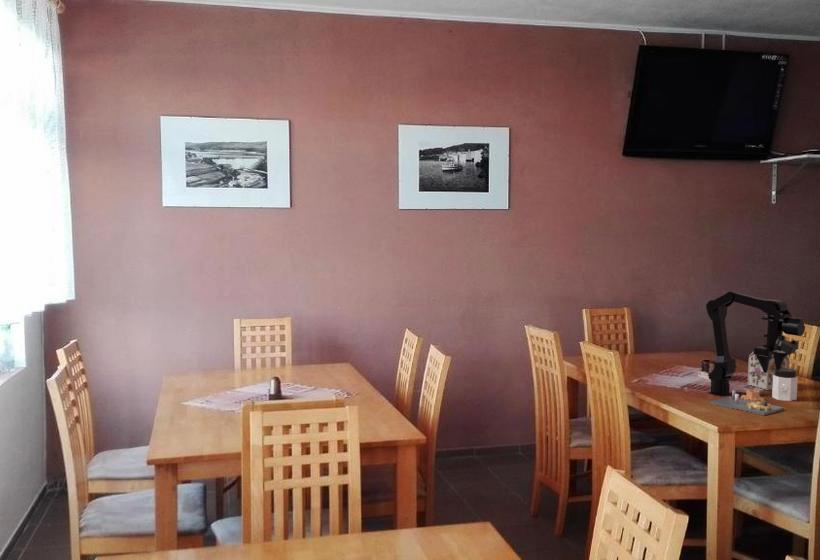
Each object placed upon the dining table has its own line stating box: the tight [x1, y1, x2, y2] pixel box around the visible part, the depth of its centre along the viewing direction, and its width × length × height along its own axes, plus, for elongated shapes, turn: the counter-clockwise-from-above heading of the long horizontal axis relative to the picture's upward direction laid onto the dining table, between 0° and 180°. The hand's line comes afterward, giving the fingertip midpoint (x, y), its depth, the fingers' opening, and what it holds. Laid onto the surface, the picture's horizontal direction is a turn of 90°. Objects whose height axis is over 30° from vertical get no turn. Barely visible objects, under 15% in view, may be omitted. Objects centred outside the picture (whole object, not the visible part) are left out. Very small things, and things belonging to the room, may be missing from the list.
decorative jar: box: [747, 351, 790, 391], centre depth 324 cm, size 12×12×18 cm
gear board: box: [710, 389, 785, 416], centre depth 288 cm, size 22×14×4 cm, turn 35°
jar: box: [771, 367, 799, 402], centre depth 302 cm, size 9×8×12 cm
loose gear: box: [740, 389, 766, 403], centre depth 299 cm, size 9×9×4 cm
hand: (771, 371), depth 292 cm, fingers open, 9 cm apart
